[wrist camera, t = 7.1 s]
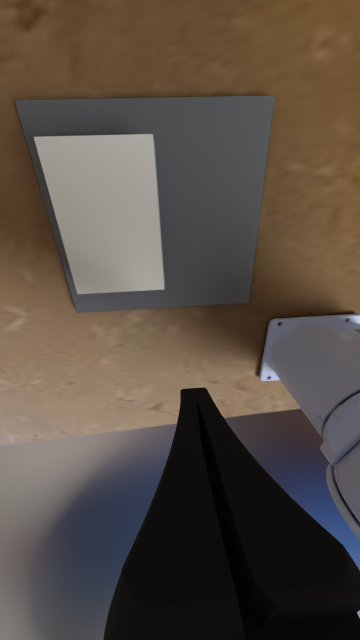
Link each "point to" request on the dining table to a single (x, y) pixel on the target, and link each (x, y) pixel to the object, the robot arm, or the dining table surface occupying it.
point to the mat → (178, 187)
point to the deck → (106, 209)
